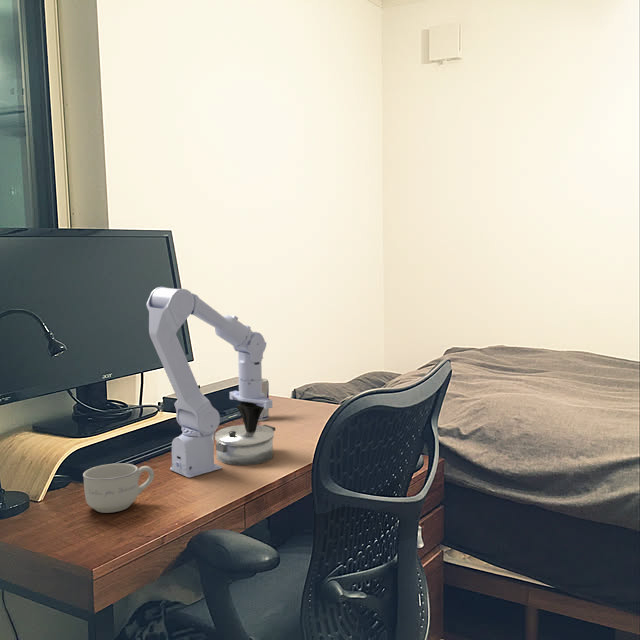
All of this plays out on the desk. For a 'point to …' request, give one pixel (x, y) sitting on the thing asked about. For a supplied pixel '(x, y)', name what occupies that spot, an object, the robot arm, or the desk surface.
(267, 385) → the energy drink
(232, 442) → the lid
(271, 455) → the pot
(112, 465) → the teacup
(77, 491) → the desk surface
